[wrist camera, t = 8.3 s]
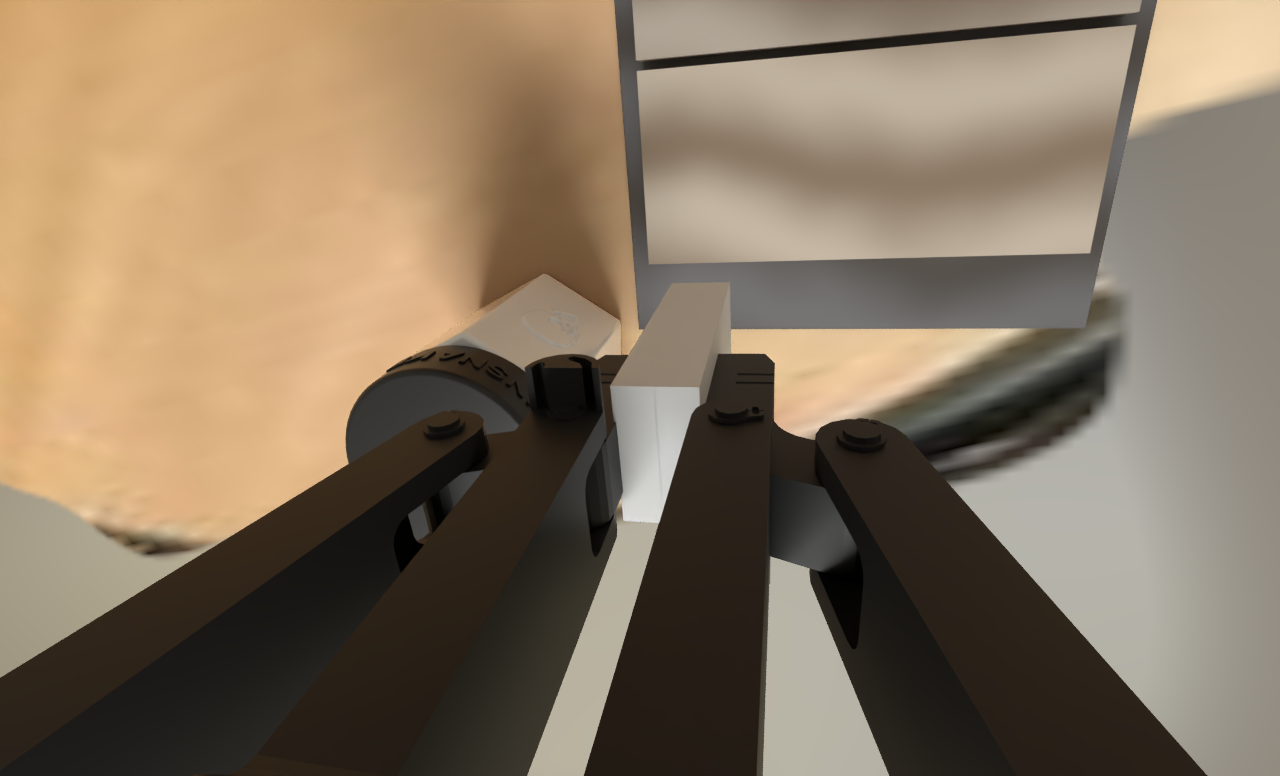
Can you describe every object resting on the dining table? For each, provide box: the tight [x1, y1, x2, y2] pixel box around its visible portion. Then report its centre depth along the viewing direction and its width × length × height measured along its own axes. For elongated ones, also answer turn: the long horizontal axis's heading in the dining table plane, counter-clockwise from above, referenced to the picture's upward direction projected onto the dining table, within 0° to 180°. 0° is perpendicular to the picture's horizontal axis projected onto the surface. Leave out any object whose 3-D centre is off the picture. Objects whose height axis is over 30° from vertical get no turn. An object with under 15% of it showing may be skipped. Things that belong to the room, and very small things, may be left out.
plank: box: [637, 25, 1136, 264], centre depth 26 cm, size 8×18×1 cm, turn 94°
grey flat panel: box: [614, 0, 1157, 329], centre depth 25 cm, size 23×20×1 cm
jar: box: [346, 274, 621, 541], centre depth 28 cm, size 9×8×12 cm
